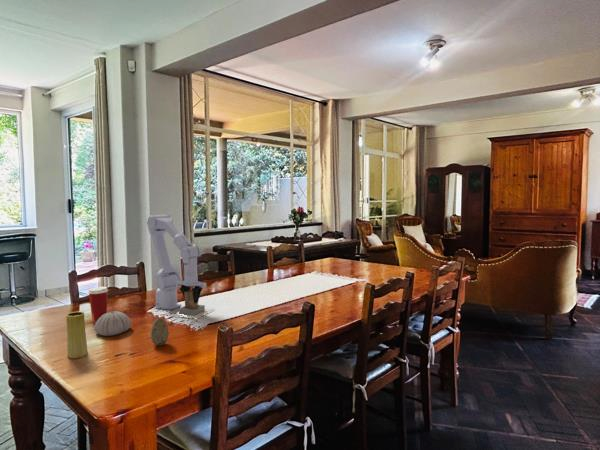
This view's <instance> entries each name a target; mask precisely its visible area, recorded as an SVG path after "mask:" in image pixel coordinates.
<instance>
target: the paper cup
mask: <svg viewBox="0 0 600 450" xmlns="http://www.w3.org/2000/svg"><path fill="white" fill-rule="evenodd" d="M108 292H109V289H108V287H107V286H95V287H91V288H89V290H88V292H87V294H89V295H88V297H89V306H90V313H91V319H92V323H94V324H95V323H96V321H97V320H98V319H99V318H100V317H101V316H102V315H103V314H106V313H108Z"/></svg>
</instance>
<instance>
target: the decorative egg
mask: <svg viewBox="0 0 600 450" xmlns="http://www.w3.org/2000/svg"><path fill="white" fill-rule="evenodd" d="M150 338H151V342H152V343H153V344H154V345H155V346H158V347H159V346H163V345H164V344H165V343H167V341H168V339H169V328H168V325H167V323H166V321H165V320H164V318H162V317H157V318H156V319H155V320H154V321H153V323H152V326H151V331H150Z"/></svg>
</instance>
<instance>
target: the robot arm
mask: <svg viewBox="0 0 600 450" xmlns="http://www.w3.org/2000/svg"><path fill="white" fill-rule="evenodd" d="M173 222H174V220H173V218H172V216H171V215H170V214H169V213H166V214H158V215H157V214H155V215H154V214H150V215H149V216H148V217H147V220H146V225H147V228H148V232H149V235H151V237H150V238H151V239H152V240H151V241H152V245H153V248H154V252H155V255H156V259H157V260H156V261H157V263H158V264H157V265H158V267H159V270H158V272H157V273H156V274H155V278H156V279H155V280H156V281H155V283H156V288H157V289H156V291H155V297H154V298H155V306H154V308H155V309H160V308H161V309H162V310H171V309H172V310H174V309H176V308H179V307H180V306H181V307H182V304H181V303H178V290H177V289H178V288H179V290H180V291H181V292H180V293H182V296H183V298H184V300H185V293H184V292H186V291H188V290H192V291H193V295H194V303H198V304H199V300H200V296H201V294H202V293H201V292H202V291H203V289H205V288H207V283H206V282H202V281H199V280H198V279H199V278H198V258H199V256H200V253H201V252H200V248H199V246H198V245H197V244H194V243H191V242H190V240H189V239H188V237H186V235H185V234H184V233H180V232H179V230H178V229H177V227H176V226H175V225H174V223H173ZM165 233H168V235H170V237H171V238H172V239H173V244H174V245H175V246H176V247H177V249H178V250H179V251H180V257H181V260H182V263H183V273H184V274H183V275H184V278H183V279H184V280H181V277H180V275H179V273H178V270H177V269H176V268H174V267H172V264H171V260H170V257H169V256H170V255H169V252H168V249H167V244H166V241H165V237H164V235H165ZM161 309H160V310H161Z"/></svg>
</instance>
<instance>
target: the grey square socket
mask: <svg viewBox="0 0 600 450" xmlns="http://www.w3.org/2000/svg"><path fill="white" fill-rule="evenodd" d="M178 308H179V307H178ZM212 310H214V311H215V309H214V308H206V307H205V304H204V305H203V304H198V307H197V308H195V309H188V308H185V305H184V306H181V307H180V308H179V309H178V311H179V314H184V315H187V317H188V318H198V319H200V318H202V317H203V315H204V314H206V315H207V313H208V312H210V311H212ZM212 312H213V311H212ZM210 313H211V312H210ZM208 314H209V313H208ZM171 316H178V315H177V314H174V313H172V314H169V317H171ZM181 316H182V315H181ZM201 316H202V317H201ZM204 316H205V315H204ZM183 317H184V316H183ZM199 317H200V318H199ZM177 318H180V317H179V316H178V317H177ZM188 318H187V319H188Z"/></svg>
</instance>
